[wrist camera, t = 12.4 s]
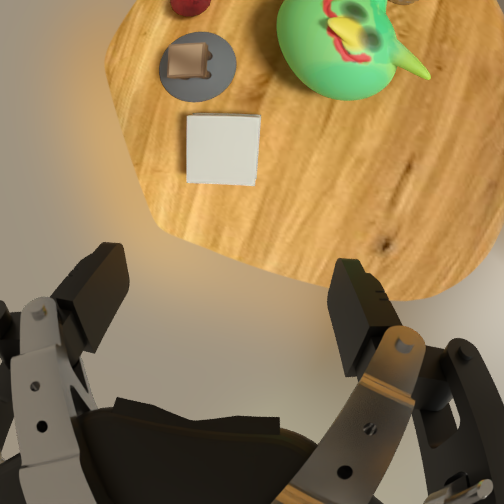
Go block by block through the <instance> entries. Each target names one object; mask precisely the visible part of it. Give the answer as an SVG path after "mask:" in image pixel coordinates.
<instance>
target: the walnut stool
mask: <svg viewBox="0 0 504 504" xmlns="http://www.w3.org/2000/svg"><path fill="white" fill-rule="evenodd" d="M212 57H213V55H212V53H211V52H210V51H209V50H208V45H207V44H206V43H205V42H201V43H184V44H172V45H169V51H168V67H167V78H171V79H176V78H180V79H183V80H188V79H190V78H198V77H201V78H203V79H206V80H207V79H210V78H211V76H212V74H211V72H209V71H208V70H207V60H211V59H212Z"/></svg>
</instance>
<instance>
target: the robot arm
mask: <svg viewBox="0 0 504 504" xmlns="http://www.w3.org/2000/svg"><path fill="white" fill-rule="evenodd" d="M390 1H392V2H394V3H397V4H400V5H409V4H412V3H414V2H416V1H418V0H390ZM128 290H129V274H128V269H127V264H126V258H125V253H124V248H123V245H122V244H120V243H109V242H103V243H101V244H100V245H99V247H98V248H97V249H96V250H95V251H94V252H93V253H92V254H90V255H88V256H87V257H85V258H84V259H82V260H81V261H80V262H79V263H78V264H77V265H76V266H75V268H74V270H72V271H71V272H70V273H69V274H68V276H67V277H66V278H65V279H64V280H63V281H62V283H61V284H60V285H59V286H58V287H57V289H56V290H55V291H54V292H53V294H52V295H51V296H50V297H40V298H36V299H34V300H32V301H30V302H29V303H28V304H27V305H26V306H25V307H24V308H23V310H22V312H12V313H10V312H9V311H8V308H7V307H6V304H5V303H4V302H3V301H1V300H0V358H1V360H2V363H1V365H0V504H383V503H382V502H381V501H380V500H378V499H377V498H376V497H375V496H374V495H373V494H374V493H375V491H376V489H377V487H378V486H379V484H380V482H381V480H382V478H383V476H384V474H385V472H386V471H387V469H388V467H389V465H390V463H391V461H392V458H393V456H394V454H395V452H396V449H397V448H398V445H399V443H400V441H401V439H402V436H403V434H404V431H405V429H406V426H407V424H408V422H409V419H410V417H411V414H412V417H413V421H414V425H415V429H416V434H417V438H418V442H419V447H420V452H421V456H422V461H423V467H424V473H425V478H426V484H427V491H428V497H427V498H426V500H425V501H424V503H423V504H504V404H503V402H502V400H501V397H500V395H499V393H498V390H497V388H496V386H495V384H494V382H493V379H492V377H491V375H490V373H489V371H488V369H487V367H486V365H485V363H484V361H483V359H482V357H481V355H480V353H479V351H478V350H477V348H476V347H475V346H474V345H473V344H472V343H470V342H468V341H467V340H465V339H461V338H454V339H452V340H451V341H450V342H449V343H448V345H447V346H446V348H445V349H441V348H436V347H431V346H426V345H425V342H424V340H423V338H422V337H421V336H420V334H418V333H417V332H416V331H414V330H413V329H411V328H409V327H406V326H403V325H402V323H401V322H400V319H399V317H398V315H397V313H396V311H395V310H394V308H393V306H392V304H391V302H390V301H389V298H388V296H387V294H386V293H385V291H384V289H383V287H382V285H381V283H380V282H379V281H378V280H377V279H376V278H375V277H374V276H373V275H372V274H370V273H366V272H365V271H364V269H363V267H362V265H361V263H360V261H359V260H358V259H345V258H338V259H337V261H336V264H335V268H334V272H333V276H332V280H331V284H330V288H329V291H328V298H327V305H328V310H329V314H330V318H331V322H332V326H333V329H334V333H335V337H336V341H337V345H338V349H339V353H340V357H341V361H342V365H343V369H344V373H345V377H355V376H357V379H358V384H357V386H356V387H355V389H354V391H353V392H352V394H351V395H350V397H349V399H348V400H347V402H346V404H345V405H344V407H343V409H342V410H341V412H340V413H339V415H338V416H337V418H336V419H335V421H334V422H333V424H332V425H331V427H330V428H329V430H328V431H327V433H326V434H325V435H324V437H323V438H322V439H321V441H320V442H319V444H318V445H317V444H316V443H314V442H313V441H312V440H310V439H308V438H306V437H305V436H303V435H301V434H298V433H296V432H293V431H290V430H287V429H283V428H280V418H279V417H252V416H232V417H225V418H217V419H209V420H199V421H193V420H188V419H186V418H183V417H181V416H178V415H176V414H173V413H171V412H168V411H166V410H163V409H161V408H159V407H157V406H154V405H150V404H146V403H141V402H137V401H132V400H127V399H123V398H119V397H117V398H116V401H115V404H114V407H108V408H100V409H98V407H97V405H96V403H95V401H94V398H93V395H92V392H91V389H90V385H89V382H88V378H87V375H86V372H85V368H84V364H83V361H82V358H81V356H80V355H81V353H82V352H83V351H86V352H90V353H95V352H96V350H97V348H98V346H99V344H100V342H101V340H102V338H103V336H104V334H105V333H106V331H107V328H108V327H109V325H110V323H111V321H112V319H113V318H114V316H115V314H116V312H117V310H118V309H119V306H120V305H121V303H122V301H123V300H124V298H125V296H126V294H127V292H128ZM452 398H453V399H454V401H455V404H456V407H457V410H458V413H459V416H460V426H459V428H458V430H457V426H456V423H455V420H454V417H453V414H452V411H451V408H450V405H449V402H450V401H451V399H452ZM13 418H14V419H15V426H16V433H17V438H18V444H19V449H20V453H18V454H16V455H15V456H13V457H12V458H10V459H8V460H5V459H4V458H3V457H1V451H2V448H3V445H4V442H5V439H6V437H7V434H8V431H9V428H10V426H11V423H12V421H13Z"/></svg>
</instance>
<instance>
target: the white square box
mask: <svg viewBox="0 0 504 504" xmlns="http://www.w3.org/2000/svg"><path fill="white" fill-rule="evenodd" d="M260 122H261V115H252V114H231V113H193V115H189V116H187V183H206V184H229V185H246V186H255V179H256V178H257V164H258V150H259V136H260Z"/></svg>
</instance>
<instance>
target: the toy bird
mask: <svg viewBox="0 0 504 504" xmlns="http://www.w3.org/2000/svg"><path fill="white" fill-rule="evenodd" d="M386 5H387V0H284V2H283V3H282V5H281V7H280V9H279V12H278V16H277V25H276V27H277V37H278V42H279V45H280V48H281V51H282V53H283V56H284V58H285V60H286V62H287V63H288V65H289V67H290V68H291V69H292V71H293V72H294V73H295V75H296V76H297V77H298V78H299V79H300V80H301V81H302V82H303V83H304V84H305V85H306V86H307V87H309V88H310V89H312V90H313V91H315V92H316V93H318V94H320V95H323V96H325V97H328V98H332V99H336V100H345V101H351V100H360V99H364V98H367V97H370V96H373V95H375V94H376V93H378V92H380V91H381V90H382V89H384V88H385V87H386V86H387V85H388V84H389V82H390V81H391V80H392V78H393V76H394V74H395V72H396V69H397V66H399V67H401V68H403V69H405V70H407V71H409V72H411V73H413V74H415V75H417V76H419V77H421V78H424V79H426V80H430V78H431V76H430V73H429V72H428V70H427V69H426V68H425V66H424V65H423V64H422V63H421V62H420V61H419V60H418V59H417V58H416V57H415V56H414V55H413V54H412V53H411V52H410V51H409V50H408V49H407V48H406V47H405V46H404V45H402V44H401V43H400V42H399V41H398V40H397V38H396V34H395V31H394V28H393V26H392V24H391V22H390V20H389V18H388V17H387V15H386Z"/></svg>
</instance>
